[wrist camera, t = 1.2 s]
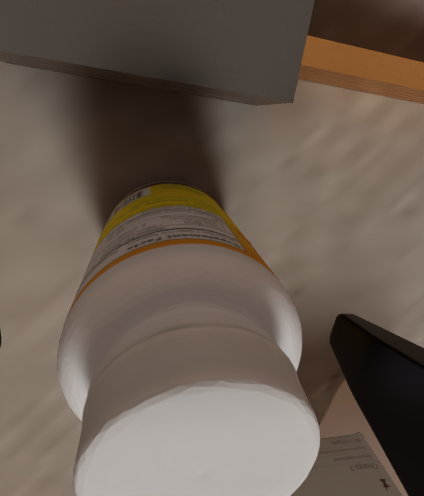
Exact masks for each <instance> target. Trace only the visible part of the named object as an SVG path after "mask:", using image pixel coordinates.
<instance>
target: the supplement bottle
mask: <svg viewBox="0 0 424 496" xmlns="http://www.w3.org/2000/svg"><path fill="white" fill-rule="evenodd" d="M301 352H302V330H301V324H300V320H299V316H298V313H297V310H296V308H295V305H294V303H293V301H292V299H291V298H290V296H289V294H288V293H287V291H286V290H285V288H284V287H283V285H282V284H281V282H280V281H279V280H278V278H277V277H276V276H275V275H274V273H273V272H272V271H271V270H270V268H269V267H268V266H267V264H266V263H265V262H264V261H263V259H262V258H261V257H260V256H259V254H258V253H257V252H256V250H255V249H254V248H253V247H252V245H251V243H250V242H249V241H248V240H247V239H246V238H245V237H244V235H243V234H242V233H241V232H240V230H239V229H238V228H237V226H236V225H235V224H234V223H233V221H232V220H231V219H230V218H229V216H228V215H227V214H226V213H225V211H224V210H223V209H222V207H221V206H220V205H219V204H218V203H217V202H216V201H215V200H214V199H213V198H212V197H211V196H210V195H208V194H207V193H206V192H204V191H202V190H201V189H199V188H197V187H195V186H192V185H190V184H186V183H182V182H177V181H160V182H154V183H150V184H147V185H144V186H141V187H139V188H137V189H135V190H134V191H132V192H130V193H129V194H128V195H126V196H125V197H124V198H123V199H122V200H121V201H120V202H119V203H118V204H117V205H116V207H115V208H114V209H113V211H112V213H111V214H110V216H109V218H108V220H107V222H106V224H105V227H104V229H103V231H102V233H101V235H100V238H99V241H98V243H97V246H96V248H95V250H94V253H93V255H92V258H91V260H90V262H89V265H88V268H87V270H86V272H85V275H84V277H83V280H82V282H81V285H80V287H79V289H78V291H77V294H76V296H75V299H74V301H73V304H72V306H71V309H70V311H69V313H68V316H67V318H66V321H65V324H64V327H63V330H62V334H61V337H60V341H59V347H58V354H57V369H58V377H59V382H60V386H61V389H62V391H63V393H64V396H65V398H66V400H67V403H68V404H69V406H70V407H71V409H72V410H73V412H74V413H75V414H76V416H77V417H78V418H79V419H80V420H81V421H82V431H81V437H80V441H79V446H78V451H77V455H76V460H75V465H74V471H73V477H74V478H73V486H74V489H75V495H76V496H290V495H291V494H292V493H293V492H294V491H295V490H296V489H297V488H298V487H299V486H300V485H301V484H302V483H303V481H304V480H305V479H306V477H307V476H308V474H309V472H310V470H311V468H312V467H313V465H314V463H315V460H316V458H317V456H318V451H319V447H320V430H319V425H318V421H317V417H316V414H315V412H314V410H313V408H312V406H311V404H310V402H309V400H308V398H307V396H306V394H305V392H304V390H303V388H302V386H301V384H300V382H299V379H298V375H297V369H298V366H299V362H300V358H301Z"/></svg>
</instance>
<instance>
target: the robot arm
mask: <svg viewBox="0 0 424 496" xmlns="http://www.w3.org/2000/svg"><path fill="white" fill-rule="evenodd" d="M330 344H331V347H332V349H333V351H334V354H335V356H336V358H337V361H338V363H339V365H340V367H341V370H342V372H343V374H344V377H345V379H346V381H347V383H348V385H349V388H350V390H351V392H352V394H353V396H354V398H355V400H356V401H357V403H358V405H359V407H360V409H361V411H362V412H363V414H364V416H365V418H366V420H367V421H368V423H369V425H370V427H371V429H372V430H373V432H374V434H375V436H376V438H377V440H378V441H379V443H380V445H381V447H382V449H383V450H384V452H385V454H386V456H387V458H388V459H389V461H390V463H391V465H392V467H393V469H394V470H395V472H396V474H397V476H398V478H399V479H400V481H401V483H402V484H403V487H404V489H405V490H406V492H407V494H408V496H424V348H422V347H420V346H418V345H416V344H414V343H412V342H410V341H408V340H406V339H404V338H402V337H400V336H397V335H395V334H393V333H391V332H389V331H387V330H385V329H383V328H381V327H379V326H377V325H375V324H373V323H370V322H368V321H366V320H364V319H362V318H360V317H358V316H356V315H354V314H339V315H338V316H337V317H336V320H335V323H334V326H333V328H332V331H331V334H330ZM0 346H1V331H0Z"/></svg>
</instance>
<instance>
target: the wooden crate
mask: <svg viewBox="0 0 424 496" xmlns="http://www.w3.org/2000/svg"><path fill="white" fill-rule="evenodd" d="M314 2H315V0H0V61H3V62H6V63H11V64H16V65H22V66H28V67H34V68H40V69H46V70H52V71H57V72H63V73H69V74H75V75H81V76H87V77H93V78H98V79H104V80H110V81H116V82H122V83H128V84H134V85H139V86H145V87H151V88H157V89H163V90H169V91H175V92H180V93H186V94H192V95H198V96H204V97H210V98H216V99H221V100H227V101H233V102H239V103H245V104H251V105H269V104H281V103H293V99H294V94H295V90H296V85H297V81H298V79H301V80H306V81H311V82H316V83H321V84H326V85H331V86H336V87H341V88H346V89H352V90H357V91H362V92H367V93H372V94H377V95H382V96H387V97H392V98H397V99H402V100H407V101H412V102H417V103H423V104H424V62H420V61H415V60H411V59H407V58H402V57H398V56H394V55H390V54H385V53H381V52H377V51H372V50H368V49H364V48H360V47H355V46H351V45H347V44H342V43H338V42H334V41H330V40H325V39H321V38H317V37H312V36H308V30H309V25H310V21H311V16H312V12H313V7H314Z"/></svg>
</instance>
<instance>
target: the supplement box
mask: <svg viewBox="0 0 424 496" xmlns="http://www.w3.org/2000/svg"><path fill="white" fill-rule="evenodd" d="M290 496H402V495H401V493H400V491H399V490H398V488H397V487H396V485H395V483H394V482H393V480H392V479H391V477H390V476H389V474H388V473H387V471H386V470H385V468H384V466H383V465H382V463H381V462H380V461H379V459H378V457H377V456H376V454H375V453H374V451H373V450H372V448H371V447H370V445H369V444H368V442H367V440H366V439H365V437H364V436H363V434H361V433H356V434H352V435H347V436H339V437H332V438H323V439H320V447H319V451H318V456H317V458H316V460H315V463H314V465H313V467H312V468H311V470H310V472H309V474H308V476H307V477H306V479H305V480H304V481H303V483H302V484H301V485H300V486H299V487H298V488H297V489H296V490H295V491H294V492H293V493H292V494H291V495H290Z"/></svg>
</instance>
